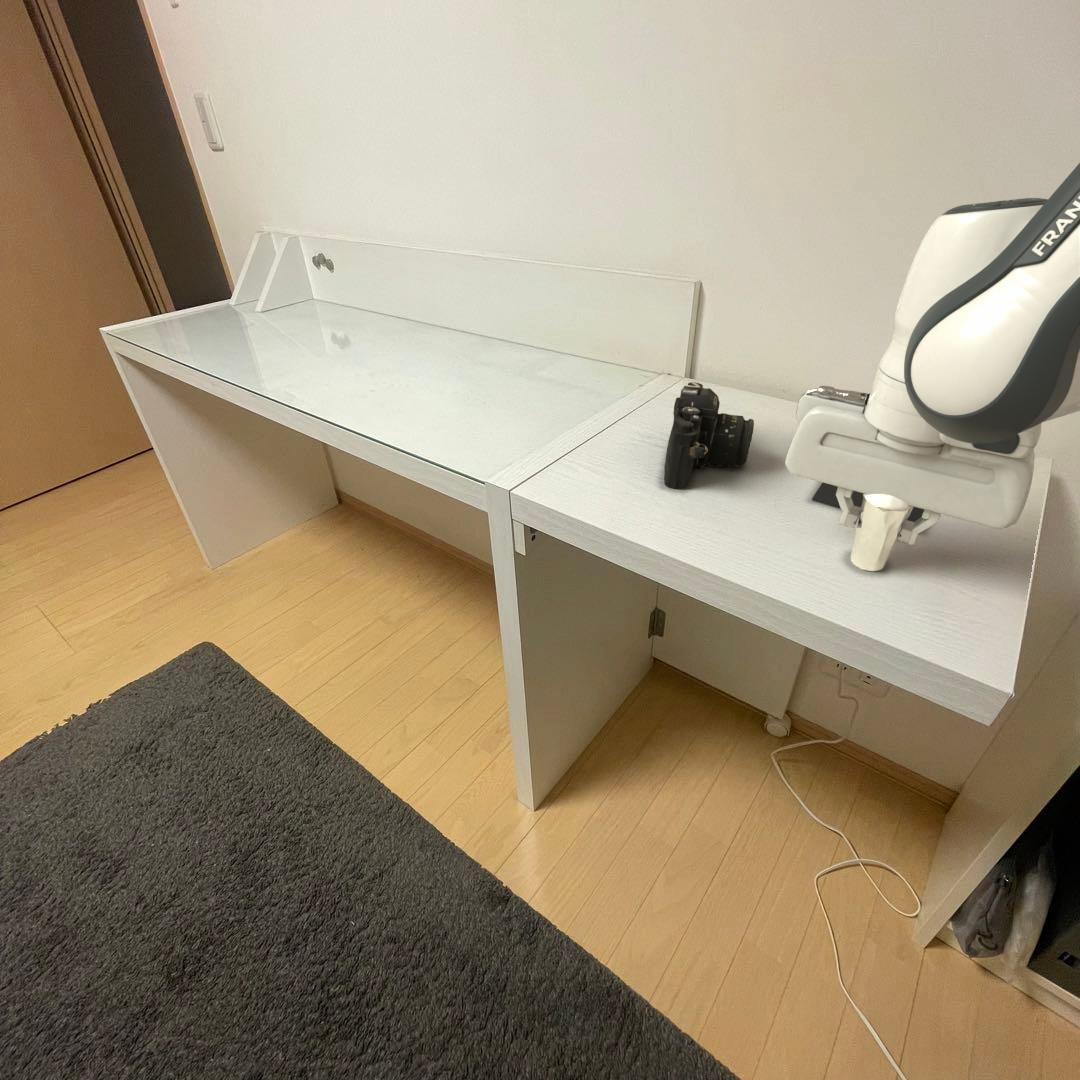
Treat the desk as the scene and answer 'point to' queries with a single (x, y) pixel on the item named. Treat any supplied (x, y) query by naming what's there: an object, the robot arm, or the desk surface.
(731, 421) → the film camera
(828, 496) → the mat
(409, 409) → the desk surface
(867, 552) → the milkshake
